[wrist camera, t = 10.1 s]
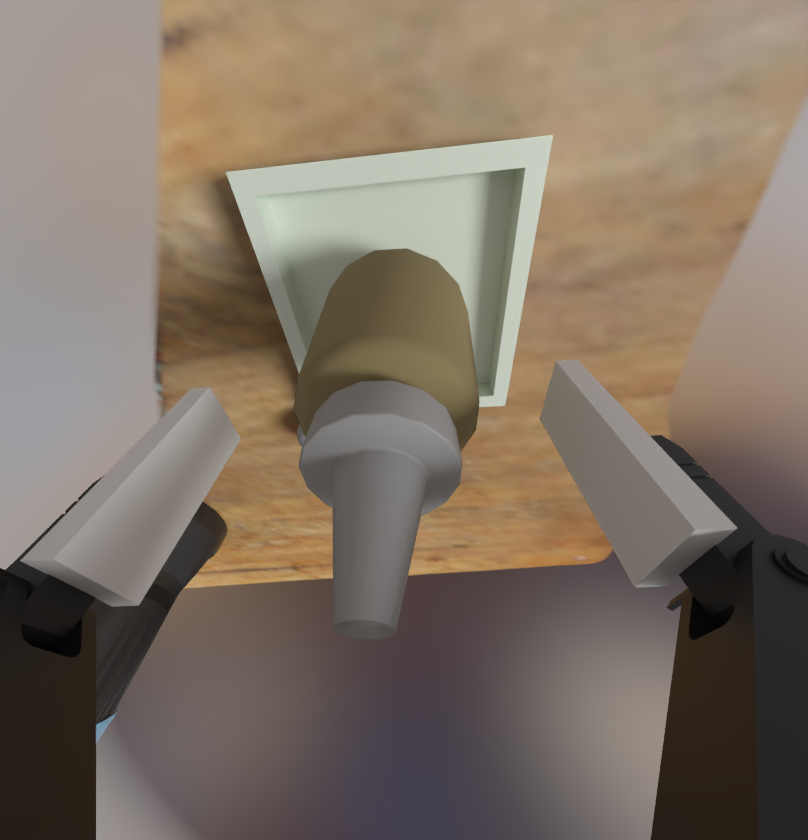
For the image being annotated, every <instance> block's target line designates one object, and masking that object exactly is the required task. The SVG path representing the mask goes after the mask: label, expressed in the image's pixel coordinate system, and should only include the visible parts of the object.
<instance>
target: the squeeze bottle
mask: <svg viewBox="0 0 808 840" xmlns="http://www.w3.org/2000/svg"><path fill="white" fill-rule="evenodd" d="M479 402H480V401H479V393H478V385H477V378H476V370H475V362H474V354H473V347H472V339H471V331H470V323H469V316H468V310H467V307H466V304H465V301H464V299H463V296H462V293H461V290H460V287H459V284H458V283H457V282H456V281H455V279H454V278H453V277H452V276H451V275H450V274H449V273H448V272H447V271H446V270H445V269H444V268H443V267H442V265H441V264H440V263H439V262H438V261H436V260H434V259H432V258H429V257H427V256H424V255H422V254H419V253H417V252H414V251H412V250H410V249H407V248H405V249H387V250H374V251H372V252H370V253H368V254H367V255H365V256H363V257H361V258H359V259H358V260H356V261H354V262H352V263H351V264H349V265H347V266H346V267H345V269H344V270H343V272H342V273H341V274H340V276H339V277H338V279H337V280H336V282H335V283H334V284H333V286H332V287H331V289H330V290H329V293H328V295H327V298H326V301H325V304H324V307H323V309H322V312H321V315H320V318H319V320H318V323H317V326H316V329H315V332H314V334H313V337H312V340H311V343H310V345H309V348H308V351H307V354H306V357H305V359H304V362H303V365H302V368H301V370H300V373H299V376H298V380H297V388H296V395H295V402H294V409H295V412H296V415H297V418H298V420H299V423H300V426H301V429H302V431H303V434H304V435H305V436H306V437H305V440H304V442H303V445H302V450H301V456H300V461H299V468H300V471H301V473H302V475H303V478H304V480H305V483H306V485H307V487H308V488H309V489H310V490H311V491H312V492H313V493H314V494H315V495H316V496H317V497H318V498H320V499H321V500H322V501H323V502H324V503H325V504H326V505H328V506H330V507H333V615H334V617H333V625H334V626H333V627H334V630H335V631H336V632H337V633H339V634H341V635H343V636H347V637H350V638H356V639H373V640H375V639H383V638H387V637H390V636H392V635H393V634H394V633H395V632H396V627H397V623H398V618H399V614H400V609H401V605H402V600H403V595H404V591H405V586H406V581H407V577H408V572H409V568H410V563H411V558H412V554H413V549H414V544H415V540H416V535H417V531H418V526H419V521H420V517H421V515H424V514H427V513H428V512H430V511H432V510H433V509H435V508H437V507H439V506H440V505H442V504H444V503H445V502H446V501H447V500H448V499H449V498H450V496H451V495H452V494H453V492H454V491H455V490H456V488H457V487H458V486H459V484H460V479H461V470H462V459H461V453H460V452H461V451H462V449H463V448H464V446H465V445H466V444H467V442H468V441H469V439H470V438H471V436H472V435H473V433H474V432H475V430H476V424H477V417H478V410H479Z"/></svg>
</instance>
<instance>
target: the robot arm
mask: <svg viewBox="0 0 808 840" xmlns="http://www.w3.org/2000/svg"><path fill="white" fill-rule="evenodd" d="M540 420H541V422H542V424H543V426H544V427H545V429H546V431H547V433H548V434H549V436H550V438H551V440H552V442H553V443H554V445H555V447H556V449H557V450H558V452H559V454H560V456H561V457H562V459H563V461H564V463H565V465H566V466H567V468H568V470H569V472H570V473H571V475H572V477H573V479H574V480H575V482H576V484H577V486H578V488H579V489H580V491H581V493H582V495H583V496H584V498H585V500H586V502H587V503H588V505H589V507H590V509H591V511H592V512H593V514H594V516H595V518H596V519H597V521H598V523H599V525H600V526H601V528H602V530H603V532H604V534H605V535H606V537H607V539H608V541H609V542H610V544H611V546H612V548H613V550H614V551H615V553H616V555H617V557H618V558H619V560H620V562H621V564H622V565H623V567H624V569H625V571H626V572H627V574H628V576H629V578H630V580H631V581H632V583H633V585H634V587H657V586H667V585H669V584H670V583H671V582H672V581H673V580H675V579H676V578H677V577H678V576H680V577H681V578H682V580H683V581H684V583H685V584H686V585H687V587H688V589H686V590H685V591H683V592H682V593H681V594H679V595H678V596H677V597H675V598H674V599H673V600H671V601H670V603H669V605H668V607H667V608H668V609H670V610H672V611H673V610H674V609H676V608H677V607H679V606H680V605H681V613H680V621H679V628H678V636H677V643H676V651H675V659H674V667H673V674H672V681H671V689H670V697H669V705H668V712H667V720H666V728H665V735H664V743H663V750H662V758H661V765H660V774H659V782H658V789H657V796H656V804H655V811H654V819H653V827H652V834H651V840H808V546H807V545H805V544H803V543H801V542H799V541H797V540H793V539H790V538H786V537H783V536H780V535H771V533H769V532H768V531H767V530H766V529H764V528H763V526H762V525H761V524H759V522H757V521H756V520H755V519H754V518H753V517H752V516H751V515H750V514H749V513H748V512H747V511H746V510H745V509H744V508H743V507H742V506H741V505H740V504H739V503H738V502H737V501H736V500H735V499H734V498H733V497H732V496H731V495H730V494H729V493H727V491H726V490H725V489H724V488H723V487H722V486H721V485H719V484H718V483H717V482H716V481H715V480H714V479H713V478H712V479H711V478H710V475H709V474H708V473H707V472H706V471H705V470H704V469H703V468H702V467H701V466H698V465H697V462H696V461H695V460H694V459H693V458H692V457H691V456H690V455H689V454H687V452H686V451H685V450H684V449H683V448H681V447H680V446H678V445H676V444H675V443H673V442H671V441H670V440H668V439H666V438H665V437H663V436H661V435H657V436H650V435H649V434H648V433H647V432H646V431H645V430H644V429H643V428H642V427H641V426H640V425H639V424H638V423H637V422H636V421H635V420H634V419H633V418H632V416H631V415H630V414H629V413H628V412H627V411H626V410H625V409H624V408H623V407H622V406H621V405H620V404H619V403H618V402H617V401H616V400H615V399H614V398H613V396H612V395H611V394H610V393H609V392H608V391H607V390H606V389H605V388H604V387H603V386H602V385H601V384H600V383H599V382H598V381H597V380H596V379H595V378H594V377H593V375H592V374H591V373H590V372H589V371H588V370H587V369H586V368H585V367H584V366H583V365H582V364H581V363H580V362H579V361H578V360H566V361H556V363H555V366H554V370H553V374H552V377H551V381H550V384H549V388H548V391H547V395H546V399H545V402H544V406H543V409H542V413H541V416H540ZM240 439H241V437H240V436H239V434H238V433H237V431H236V429H235V428H234V426H233V424H232V423H231V421H230V419H229V418H228V416H227V414H226V413H225V411H224V409H223V408H222V406H221V404H220V403H219V401H218V399H217V398H216V396H215V395H214V393H213V391H212V390H211V388H210V387H203V388H191V389H190V390H189V391H188V392H187V393H186V394H185V395H184V396H183V397H182V398H181V399H180V400H179V401H178V402H177V403H176V404H175V405H174V406H173V407H172V408H171V409H170V410H169V411H168V412H167V413H166V414H165V415H164V416H163V417H162V418H161V419H160V420H159V421H158V422H157V423H156V424H155V425H154V426H153V427H152V428H151V429H150V430H149V431H148V432H147V433H146V434H145V435H144V436H143V437H142V438H141V439H140V440H139V441H138V442H137V444H135V445H134V446H133V447H132V448H131V449H130V450H129V451H128V453H126V455H125V456H123V458H122V459H120V460H119V462H118V463H116V464H115V466H114V467H113V468H112V469H111V470H110V471H109V472H108V473H107V474H106V475H104V476H103V477H102V478H100V479H99V480H97V481H96V482H94V483H93V484H92V485H91V486H90V487H89V488H88V489H87V490H86V491H85V492H84V493H83V494H82V495H81V496H80V497H79V498H78V499H79V500H78V501H76V502H74V503H73V504H72V505H71V506H70V507H69V508H68V509H67V510H66V513H65V514H62V515H61V516H60V517H59V518H58V519H57V520H56V521H55V522H54V523H53V524H52V525H51V526H50V527H49V528H48V529H47V530H46V531H45V532H44V533H43V534H42V535H41V536H40V537H39V538H38V539H37V540H36V541H35V542H34V543H33V544H32V545H31V546H30V547H29V548H28V549H27V550H26V551H25V552H24V553H23V554H22V555H21V556H20V557H19V558H18V559H17V560H16V561H15V562H14V563H13V564H11V565H10V566H9V567H8V568H7V569H6V570H3V569H1V568H0V840H96V744H97V742H98V740H99V739H100V737H101V735H102V734H103V732H104V730H105V729H106V727H107V725H108V724H109V722H110V721H112V719H113V718H114V716H115V715H116V712H117V707H118V705H119V704H120V701H121V700H122V698H123V696H124V694H125V692H126V690H127V689H128V686H129V685H130V683H131V681H132V679H133V677H134V676H135V674H136V672H137V670H138V668H139V666H140V665H141V663H142V661H143V659H144V657H145V655H146V653H147V651H148V650H149V648H150V646H151V644H152V642H153V640H154V638H155V637H156V635H157V633H158V631H159V629H160V627H161V625H162V624H163V622H164V620H165V618H166V616H167V614H168V612H169V610H170V609H171V607H172V605H173V603H174V601H175V600H176V598H177V596H178V595H179V593H180V592H181V590H182V589H183V588H184V587H185V586H186V585H187V584H188V583H189V581H190V580H191V579H192V578H193V577H194V576H195V575H196V573H197V572H198V571H199V570H200V569H201V568H202V566H203V565H204V564H205V563H206V562H207V560H208V559H210V558H212V557H213V556H214V555H215V554H216V553H217V551H218V550H219V548H220V546H221V544H222V542H223V540H224V538H225V536H226V534H227V527H226V524H225V522H224V521H223V519H222V518H221V517H220V516H219V515H218V514H217V513H216V512H215V511H214V510H212V509H211V508H210V507H208V506H207V505H205V504H204V503H202V502H203V500H204V498H205V497H206V495H207V493H208V492H209V490H210V488H211V487H212V485H213V484H214V482H215V480H216V479H217V477H218V475H219V474H220V472H221V470H222V469H223V467H224V466H225V464H226V462H227V461H228V459H229V457H230V456H231V454H232V453H233V451H234V449H235V448H236V446H237V444H238V443H239V441H240Z"/></svg>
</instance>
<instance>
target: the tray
mask: <svg viewBox="0 0 808 840" xmlns="http://www.w3.org/2000/svg"><path fill="white" fill-rule="evenodd" d="M552 138H553V135H549V136H540V137H531V138H523V139H514V140H505V141H496V142H487V143H478V144H469V145H461V146H452V147H443V148H434V149H425V150H416V151H407V152H399V153H390V154H381V155H372V156H363V157H354V158H345V159H337V160H328V161H319V162H310V163H301V164H292V165H283V166H275V167H266V168H257V169H248V170H239V171H230V172H226V174H227V177H228V180H229V182H230V185H231V188H232V191H233V193H234V196H235V199H236V202H237V204H238V207H239V210H240V213H241V215H242V218H243V221H244V224H245V226H246V229H247V232H248V235H249V237H250V240H251V243H252V246H253V248H254V251H255V254H256V257H257V259H258V262H259V265H260V268H261V270H262V273H263V276H264V279H265V281H266V284H267V287H268V290H269V292H270V295H271V298H272V301H273V303H274V306H275V309H276V312H277V314H278V317H279V320H280V323H281V325H282V328H283V331H284V334H285V336H286V339H287V342H288V345H289V347H290V350H291V353H292V356H293V358H294V361H295V364H296V367H297V369H298V372H299V373H300V370H301V368H302V365H303V362H304V359H305V357H306V354H307V351H308V348H309V345H310V343H311V340H312V337H313V334H314V332H315V329H316V326H317V323H318V320H319V318H320V315H321V312H322V309H323V307H324V304H325V301H326V298H327V295H328V293H329V290H330V289H331V287H332V286H333V284H334V283H335V282H336V280H337V279H338V277H339V276H340V274H341V273H342V272H343V270H344V269H345V267H346V266H347V265H349V264H351V263H352V262H354V261H356V260H358V259H359V258H361V257H363V256H365V255H367V254H368V253H370V252H372V251H374V250H387V249H405V248H407V249H410V250H412V251H414V252H417V253H419V254H422V255H424V256H427V257H429V258H432V259H434V260H436V261H438V262H439V263H440V264H441V265H442V267H443V268H444V269H445V270H446V271H447V272H448V273H449V274H450V275H451V276H452V277H453V278H454V279H455V281H456V282H457V283H458V284H459V287H460V290H461V293H462V296H463V299H464V301H465V304H466V307H467V310H468V316H469V323H470V331H471V339H472V347H473V354H474V362H475V370H476V378H477V385H478V393H479V401H480V402H479V407H491V406H505V403H506V398H507V392H508V387H509V381H510V375H511V370H512V364H513V358H514V353H515V347H516V341H517V336H518V330H519V324H520V319H521V313H522V307H523V302H524V296H525V291H526V285H527V279H528V274H529V268H530V262H531V257H532V251H533V245H534V240H535V234H536V228H537V223H538V217H539V211H540V206H541V200H542V194H543V189H544V183H545V178H546V172H547V166H548V161H549V155H550V149H551V144H552Z"/></svg>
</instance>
